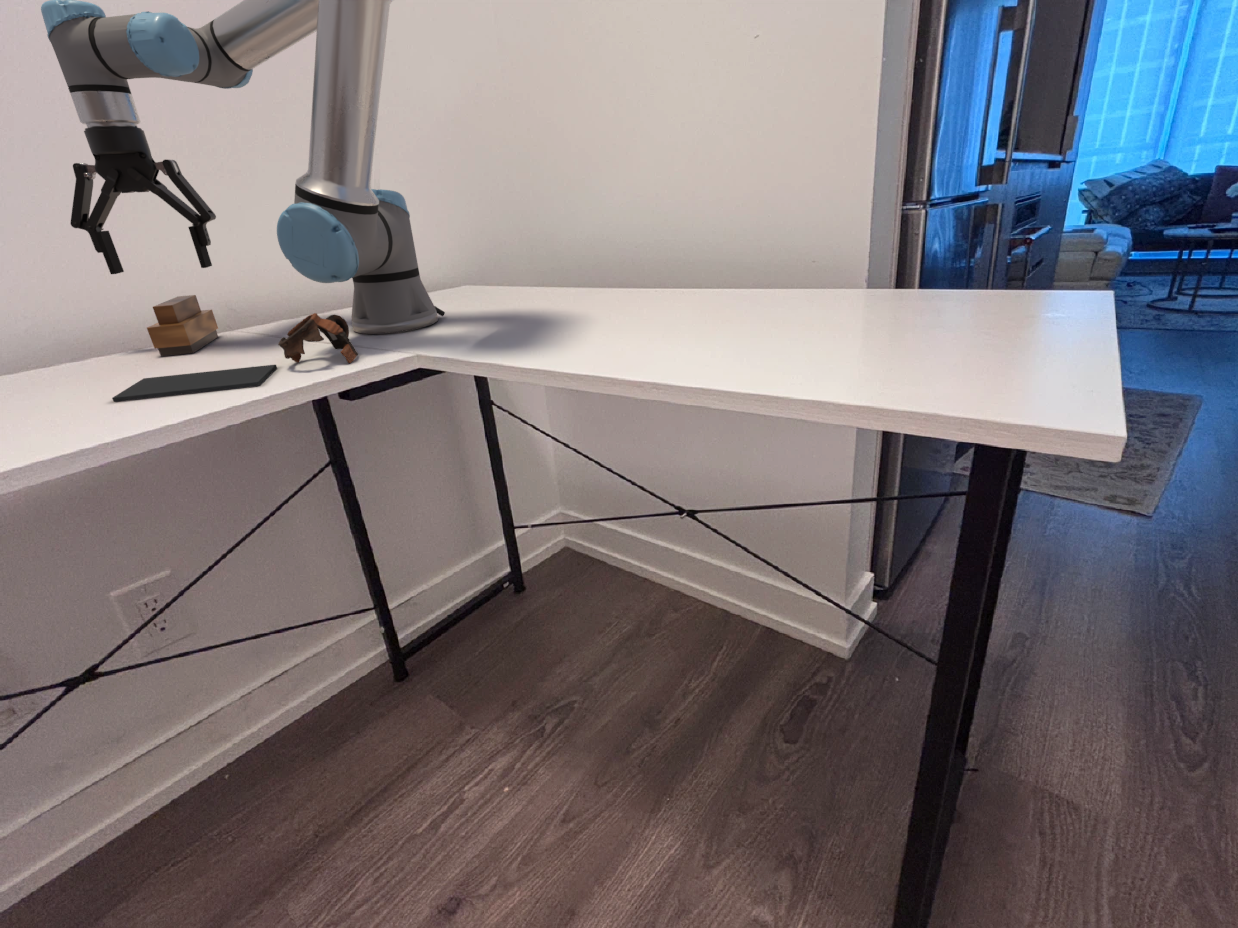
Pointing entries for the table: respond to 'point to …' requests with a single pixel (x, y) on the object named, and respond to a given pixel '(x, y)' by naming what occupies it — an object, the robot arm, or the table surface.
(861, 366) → the table surface
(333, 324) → the brown black curved piece
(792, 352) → the table surface
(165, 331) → the brush
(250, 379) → the mat
